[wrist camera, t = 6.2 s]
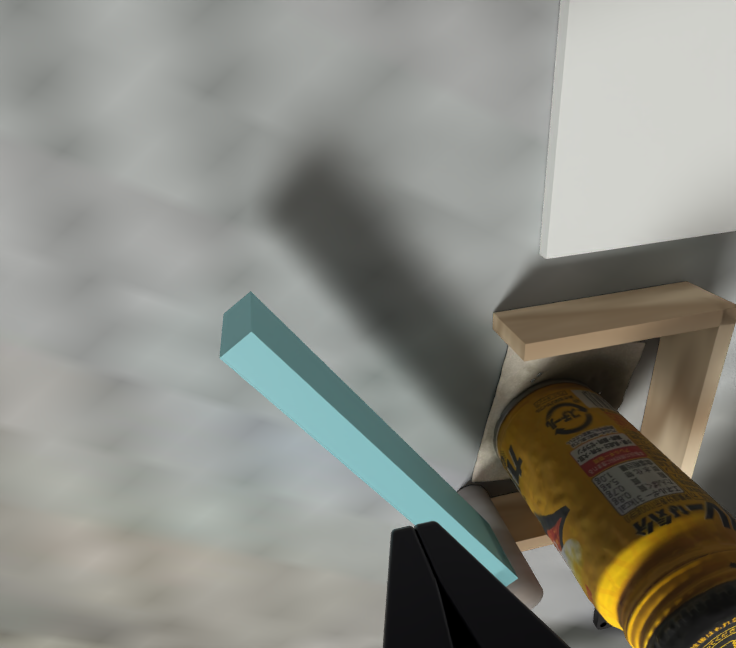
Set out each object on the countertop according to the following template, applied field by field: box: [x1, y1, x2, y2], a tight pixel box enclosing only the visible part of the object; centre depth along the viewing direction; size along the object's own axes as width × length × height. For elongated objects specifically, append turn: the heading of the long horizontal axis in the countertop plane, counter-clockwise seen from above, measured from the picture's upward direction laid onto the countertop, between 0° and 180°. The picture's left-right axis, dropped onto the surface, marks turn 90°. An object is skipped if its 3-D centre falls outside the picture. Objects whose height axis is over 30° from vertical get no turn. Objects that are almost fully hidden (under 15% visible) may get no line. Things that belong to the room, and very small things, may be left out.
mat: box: [539, 0, 736, 259], centre depth 20 cm, size 11×11×1 cm
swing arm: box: [220, 291, 518, 586], centre depth 19 cm, size 16×1×3 cm, turn 37°
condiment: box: [472, 342, 736, 648], centre depth 21 cm, size 7×8×12 cm
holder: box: [457, 281, 736, 610], centre depth 24 cm, size 12×12×6 cm
